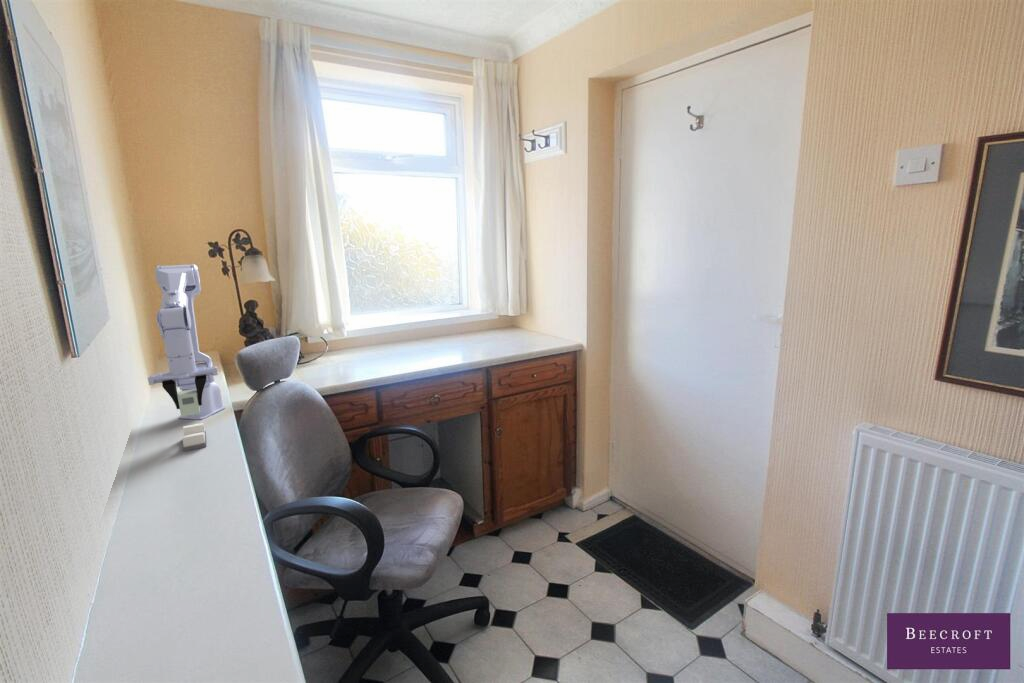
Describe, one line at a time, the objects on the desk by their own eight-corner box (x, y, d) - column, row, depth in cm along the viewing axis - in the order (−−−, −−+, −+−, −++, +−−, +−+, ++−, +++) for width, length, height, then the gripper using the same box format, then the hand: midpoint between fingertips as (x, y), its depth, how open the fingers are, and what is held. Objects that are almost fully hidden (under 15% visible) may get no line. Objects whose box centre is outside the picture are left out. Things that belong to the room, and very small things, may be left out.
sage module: (181, 411, 125) (178, 391, 124) (199, 408, 127) (196, 388, 126) (181, 416, 122) (177, 396, 120) (199, 413, 124) (196, 393, 122)
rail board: (184, 438, 126) (182, 426, 125) (206, 434, 128) (204, 422, 128) (183, 451, 118) (181, 438, 118) (206, 446, 121) (204, 434, 120)
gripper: (142, 362, 114) (153, 416, 117) (214, 353, 121) (222, 404, 124) (145, 356, 120) (155, 408, 123) (213, 348, 127) (221, 397, 130)
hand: (189, 406), depth 124 cm, fingers closed on sage module, 4 cm apart
